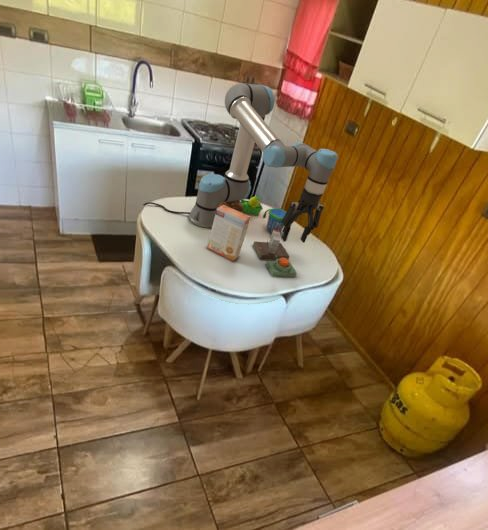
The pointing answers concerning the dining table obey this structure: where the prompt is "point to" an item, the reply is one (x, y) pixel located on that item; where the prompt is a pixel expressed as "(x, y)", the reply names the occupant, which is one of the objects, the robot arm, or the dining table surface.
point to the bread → (233, 205)
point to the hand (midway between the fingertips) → (293, 240)
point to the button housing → (280, 269)
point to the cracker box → (228, 232)
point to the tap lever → (274, 241)
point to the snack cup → (275, 219)
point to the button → (283, 262)
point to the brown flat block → (263, 251)
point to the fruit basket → (251, 206)
